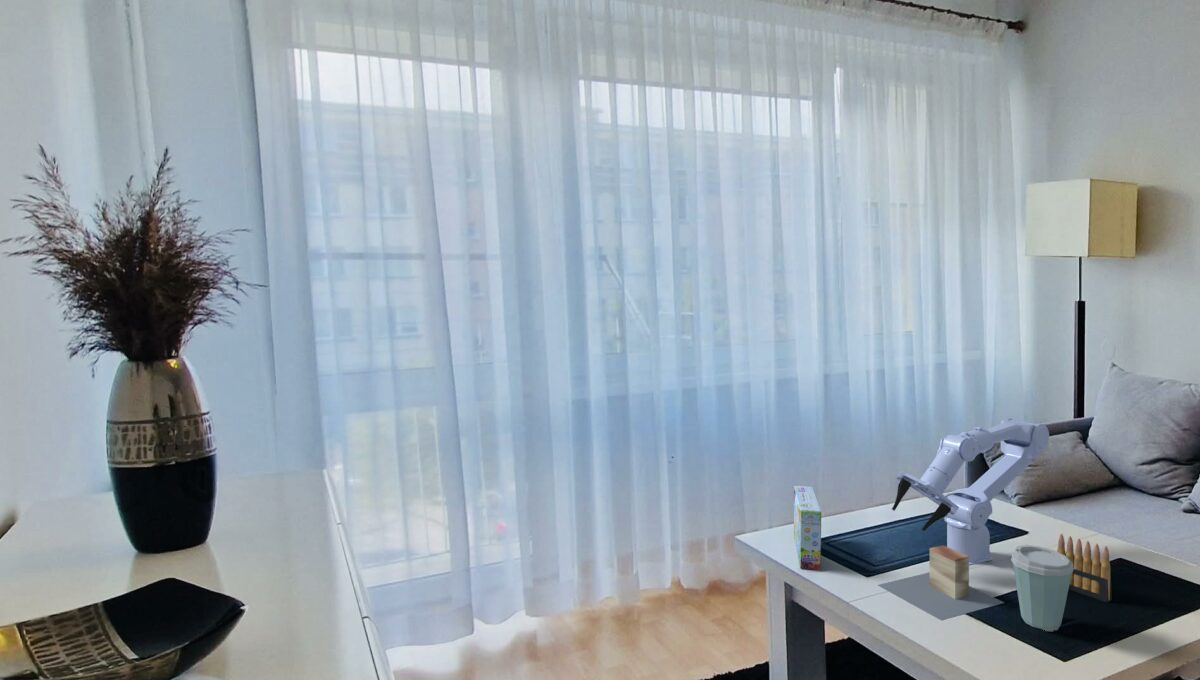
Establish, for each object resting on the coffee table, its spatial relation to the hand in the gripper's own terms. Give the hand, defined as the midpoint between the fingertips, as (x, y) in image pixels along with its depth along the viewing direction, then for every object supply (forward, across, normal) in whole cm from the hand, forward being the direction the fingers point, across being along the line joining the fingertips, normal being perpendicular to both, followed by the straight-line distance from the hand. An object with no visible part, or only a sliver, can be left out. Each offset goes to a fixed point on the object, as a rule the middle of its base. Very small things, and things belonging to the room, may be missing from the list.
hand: (908, 519), depth 160 cm
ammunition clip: (-10, +36, +5) cm, 38 cm away
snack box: (+18, -15, +17) cm, 29 cm away
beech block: (+9, +15, +1) cm, 17 cm away
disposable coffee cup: (+6, +30, -9) cm, 32 cm away
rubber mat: (+11, +14, 0) cm, 17 cm away
